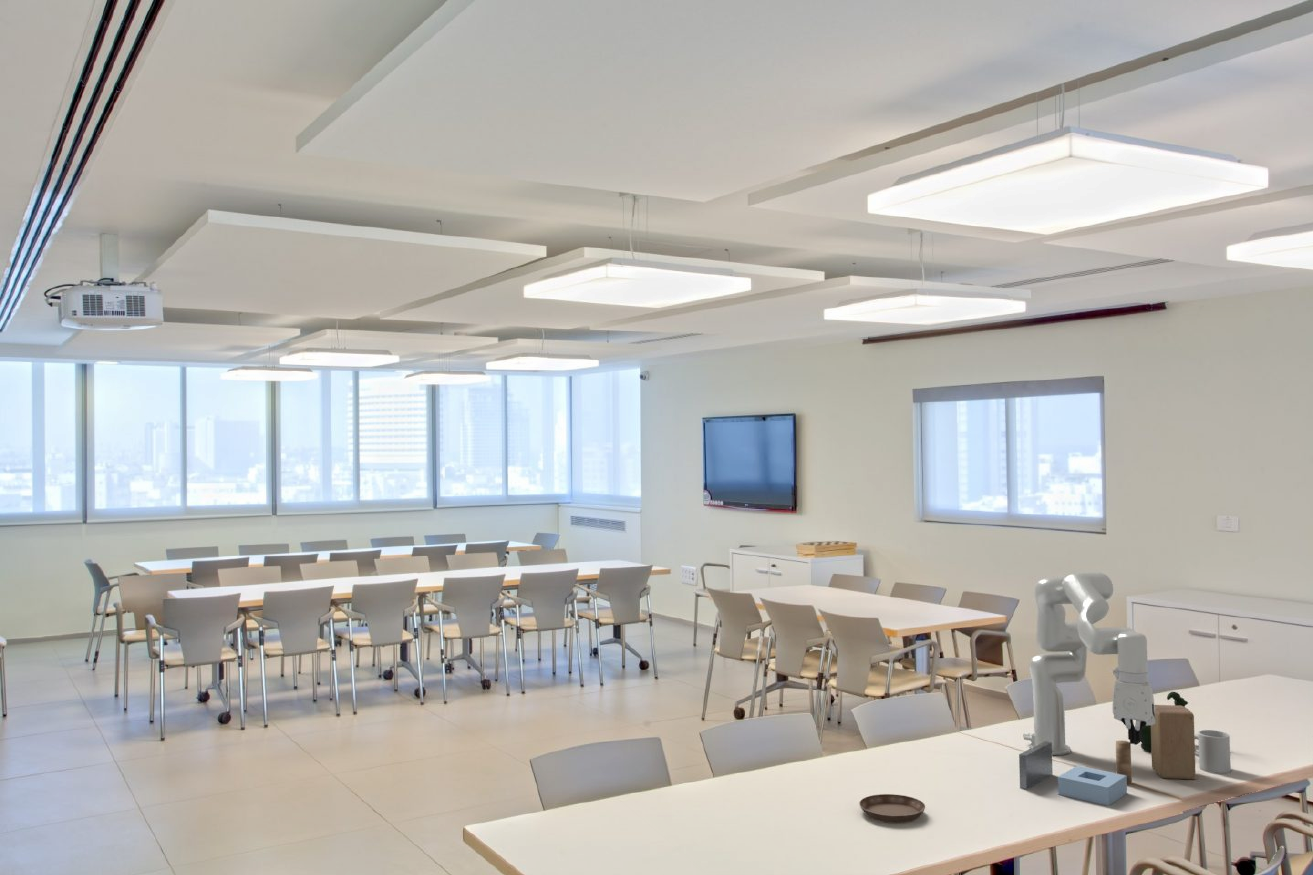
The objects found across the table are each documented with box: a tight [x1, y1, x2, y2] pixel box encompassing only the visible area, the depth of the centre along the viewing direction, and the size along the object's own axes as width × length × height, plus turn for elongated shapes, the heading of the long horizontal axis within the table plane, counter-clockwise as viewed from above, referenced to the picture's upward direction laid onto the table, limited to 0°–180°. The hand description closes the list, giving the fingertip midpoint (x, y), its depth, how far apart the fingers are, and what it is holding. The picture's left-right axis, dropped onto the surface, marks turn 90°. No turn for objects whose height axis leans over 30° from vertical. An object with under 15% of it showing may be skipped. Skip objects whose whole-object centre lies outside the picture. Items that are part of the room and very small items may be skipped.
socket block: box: [1057, 765, 1128, 806], centre depth 285 cm, size 14×14×5 cm
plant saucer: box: [858, 793, 926, 824], centre depth 272 cm, size 18×18×3 cm
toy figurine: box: [1140, 691, 1189, 753], centre depth 329 cm, size 9×19×25 cm
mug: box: [1194, 729, 1232, 775], centre depth 307 cm, size 12×8×11 cm
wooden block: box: [1150, 704, 1197, 780], centre depth 302 cm, size 10×10×20 cm
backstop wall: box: [1018, 741, 1053, 790], centre depth 297 cm, size 2×18×10 cm, turn 135°
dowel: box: [1115, 740, 1133, 786], centre depth 295 cm, size 4×4×12 cm
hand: (1135, 743), depth 277 cm, fingers closed
